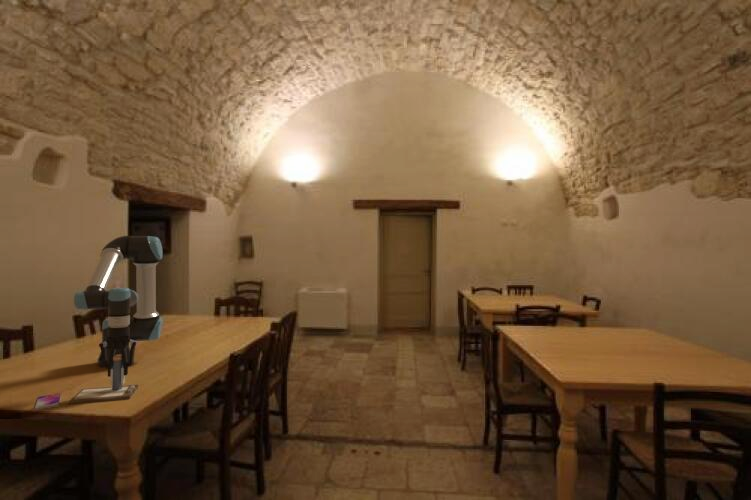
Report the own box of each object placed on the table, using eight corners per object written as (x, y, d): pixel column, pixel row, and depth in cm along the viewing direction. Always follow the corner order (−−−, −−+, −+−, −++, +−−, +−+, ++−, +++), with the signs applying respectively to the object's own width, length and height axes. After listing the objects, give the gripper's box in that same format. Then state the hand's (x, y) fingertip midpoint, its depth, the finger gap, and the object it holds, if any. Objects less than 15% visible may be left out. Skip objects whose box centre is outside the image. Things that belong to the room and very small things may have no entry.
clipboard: (81, 391, 163) (82, 386, 163) (138, 387, 170) (138, 382, 170) (68, 404, 150) (68, 399, 150) (129, 398, 156) (129, 393, 156)
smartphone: (33, 409, 144) (37, 396, 156) (33, 412, 144) (37, 398, 156) (59, 404, 148) (61, 392, 160) (59, 407, 148) (61, 394, 160)
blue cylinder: (113, 387, 164) (113, 354, 165) (123, 387, 166) (124, 354, 166) (110, 390, 161) (111, 357, 161) (121, 389, 162) (122, 356, 162)
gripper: (92, 328, 157) (91, 388, 157) (139, 326, 163) (137, 384, 163) (99, 325, 165) (97, 382, 165) (143, 323, 170) (142, 379, 170)
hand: (117, 383), depth 164 cm, fingers closed on blue cylinder, 3 cm apart
